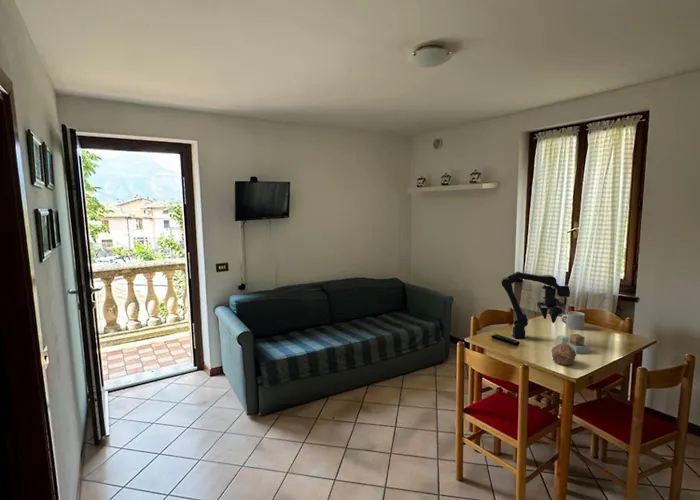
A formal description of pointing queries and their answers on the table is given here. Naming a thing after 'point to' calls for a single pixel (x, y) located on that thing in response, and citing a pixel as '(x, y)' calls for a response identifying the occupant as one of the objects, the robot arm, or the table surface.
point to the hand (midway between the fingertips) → (549, 320)
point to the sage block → (562, 339)
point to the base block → (579, 348)
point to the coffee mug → (574, 320)
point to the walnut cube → (576, 339)
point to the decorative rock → (563, 354)
